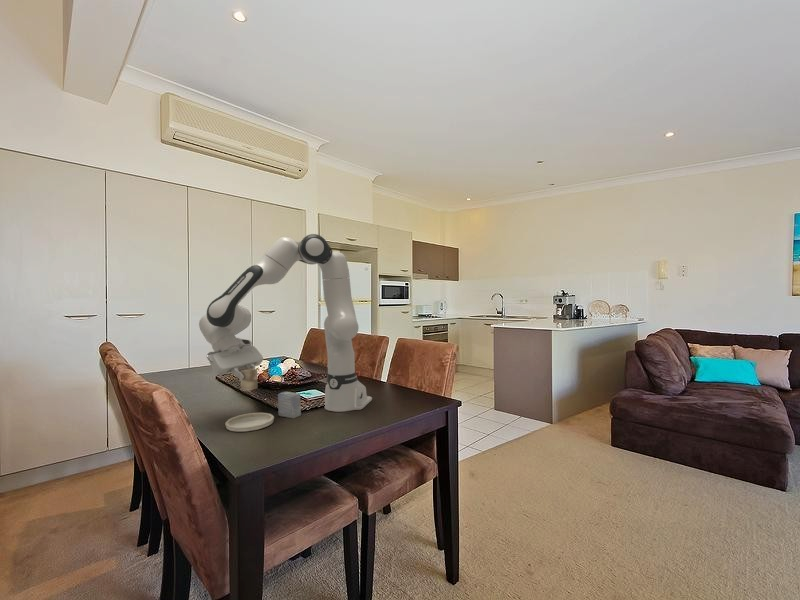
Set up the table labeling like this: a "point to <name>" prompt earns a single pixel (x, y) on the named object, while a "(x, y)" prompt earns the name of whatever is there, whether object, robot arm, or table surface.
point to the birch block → (249, 379)
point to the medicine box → (289, 404)
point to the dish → (249, 422)
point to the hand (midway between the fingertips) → (249, 376)
